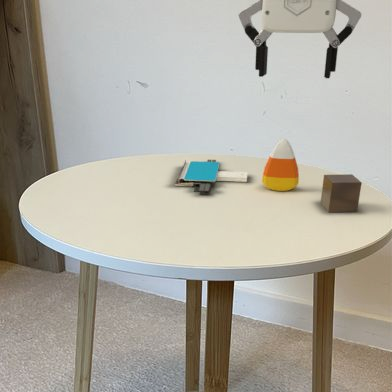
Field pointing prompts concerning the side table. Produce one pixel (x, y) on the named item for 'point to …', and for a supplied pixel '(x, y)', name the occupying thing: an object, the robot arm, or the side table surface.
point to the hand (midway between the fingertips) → (294, 76)
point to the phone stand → (205, 175)
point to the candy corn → (281, 168)
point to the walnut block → (340, 193)
